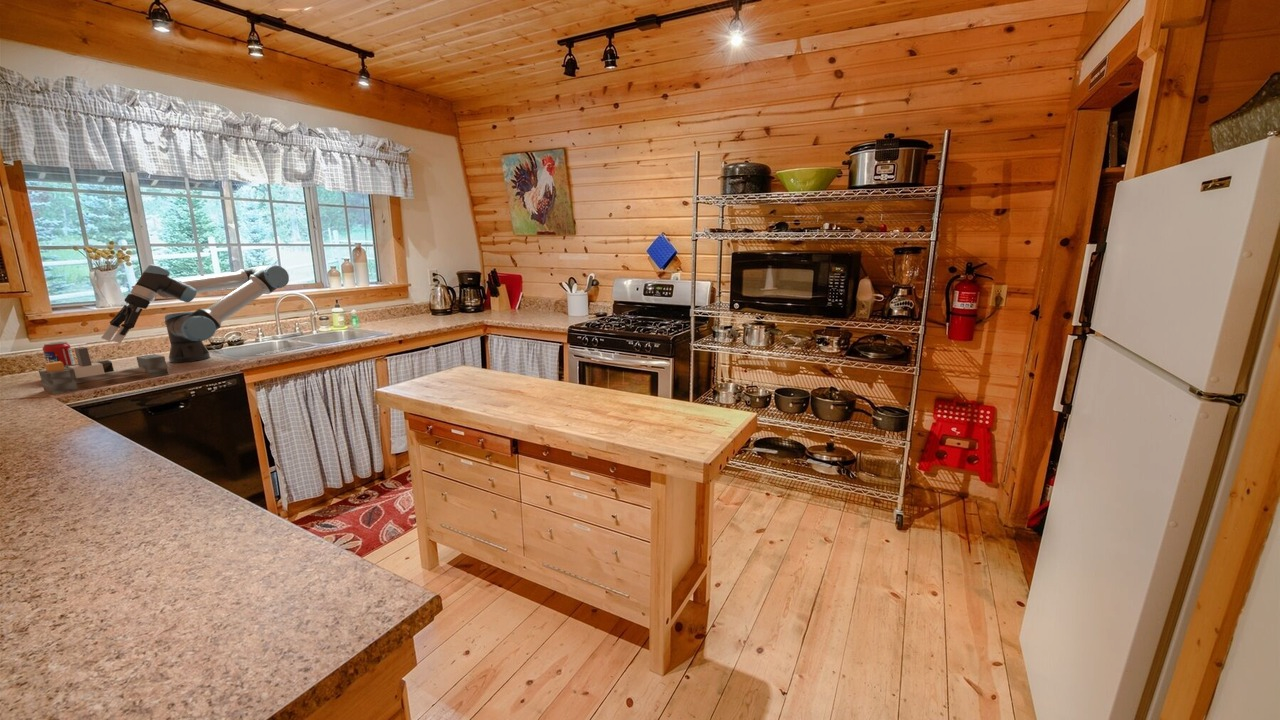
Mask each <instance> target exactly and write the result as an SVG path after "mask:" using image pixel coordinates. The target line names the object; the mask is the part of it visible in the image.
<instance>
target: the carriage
mask: <svg viewBox="0 0 1280 720" xmlns="http://www.w3.org/2000/svg"><path fill="white" fill-rule="evenodd" d="M73 349H74V352H75V357H76V359H77V364H79V365H76V366H69V367H68V368H69V369H72V370H73V372H74V376H75V378H82V377H88V376H94V375H100V374H105V372H104V369H103V365H102V364H100V363H97V362H98V361H95V362H96V363H91V362H92V361H91V357H90V353H89V350H88V347H85V346H79V347H74V348H73Z"/></svg>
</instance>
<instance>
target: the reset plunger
mask: <svg viewBox="0 0 1280 720" xmlns="http://www.w3.org/2000/svg"><path fill="white" fill-rule="evenodd" d="M44 367H45V370H46V371H47V372H55V371H62V370H65V368H64V365H63V362H60V361H58V362H51V363H46V362H45V363H44Z"/></svg>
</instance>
